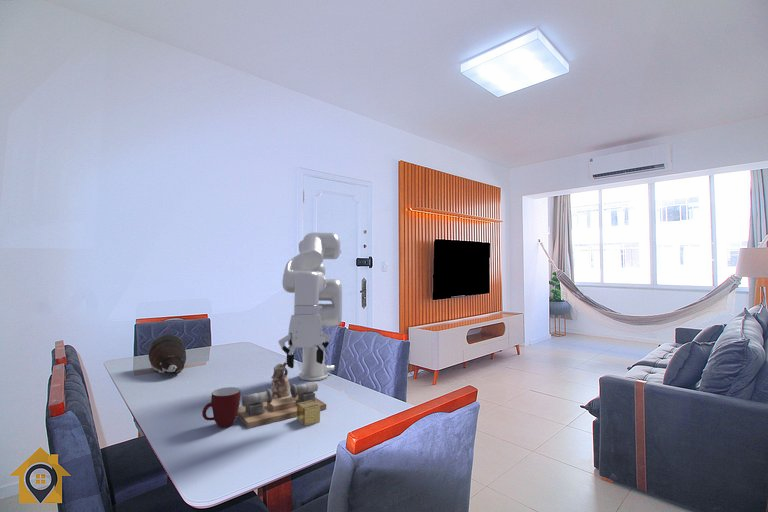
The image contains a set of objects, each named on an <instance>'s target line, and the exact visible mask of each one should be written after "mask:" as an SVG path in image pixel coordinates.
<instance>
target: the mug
mask: <svg viewBox="0 0 768 512" xmlns="http://www.w3.org/2000/svg"><path fill="white" fill-rule="evenodd" d="M210 400H211V401H210V402H209V403H207V404H205V405H204V406H203V408H202V412H201V414H202V417H203V419H204V420H206V421H214V422H215V424H216V425H217V426H218V427H219V428H221V429H224V428H229V427H231V426H232V425H234V422H235V420H236V419H237V417H238V416H237V413H238V408H239V407H240V402H241V389H240V388H239V387H232V386H231V387H228V386H227V387H221V388H217V389H215V390H213V391H212V392H211V399H210ZM209 408H211V409H212V417H210V416H207V410H208V409H209Z"/></svg>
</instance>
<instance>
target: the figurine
mask: <svg viewBox="0 0 768 512" xmlns="http://www.w3.org/2000/svg"><path fill="white" fill-rule="evenodd" d="M286 365H287V362H286V361H285V362H283V364H282V363H277V364H276V366H274V367H273V375H272V376H271V377H270V378H271V379H272V382H271V387H270V390H271V392H272V400H273V399H278V398H282V397H287V396H289V397H290V395H291V391H290V388H291V385H290V381H289V378H288V373H289V372H288V369H287V368H286Z"/></svg>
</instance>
